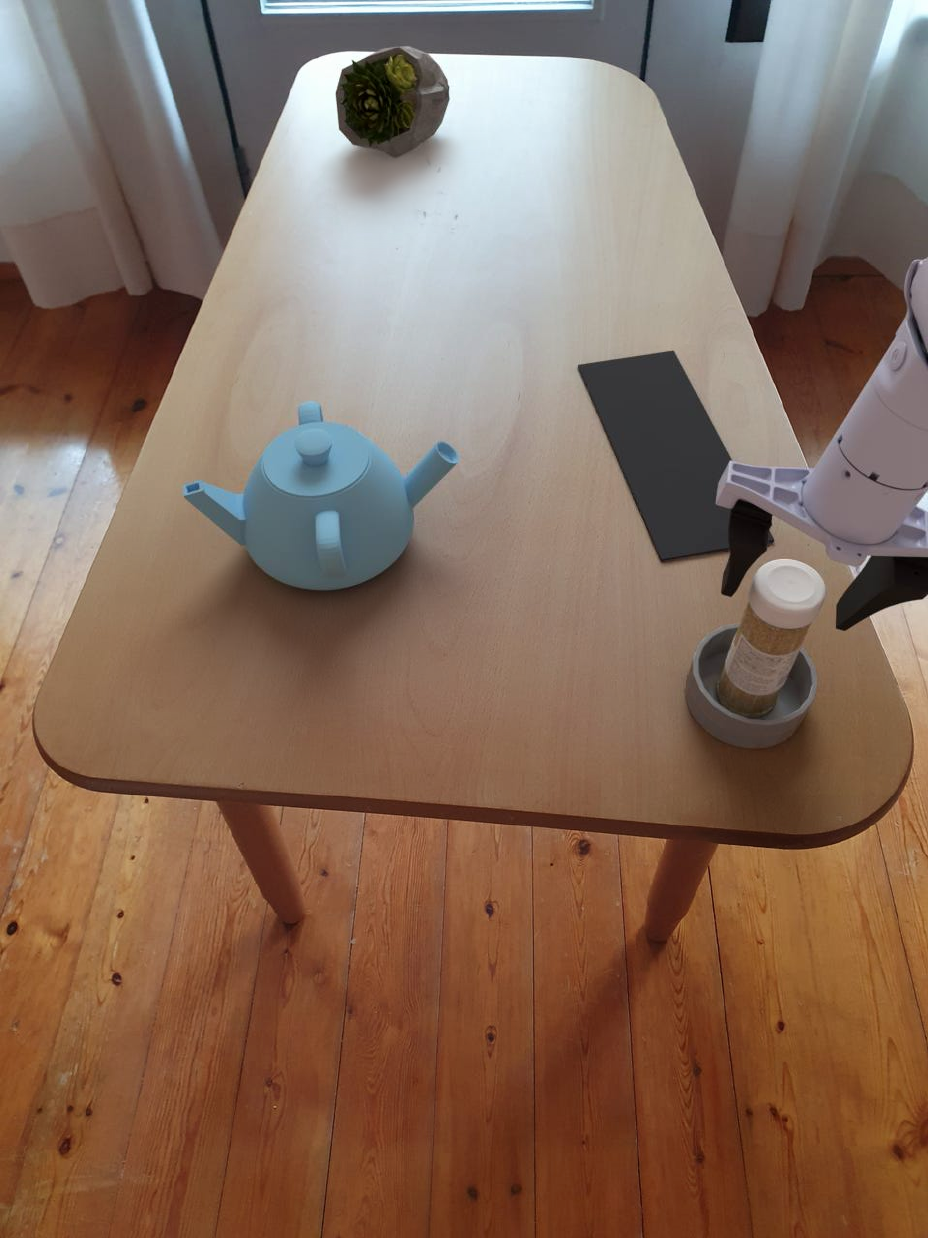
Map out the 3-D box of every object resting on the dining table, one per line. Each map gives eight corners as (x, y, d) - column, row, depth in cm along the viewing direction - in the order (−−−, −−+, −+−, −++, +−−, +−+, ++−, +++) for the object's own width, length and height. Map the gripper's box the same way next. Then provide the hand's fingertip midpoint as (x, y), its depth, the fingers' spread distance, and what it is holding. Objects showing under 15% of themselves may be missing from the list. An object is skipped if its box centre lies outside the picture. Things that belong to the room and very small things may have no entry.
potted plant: (473, 104, 120) (435, 126, 109) (400, 165, 127) (358, 191, 116) (416, 13, 116) (371, 26, 105) (345, 82, 123) (295, 100, 112)
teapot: (373, 641, 75) (357, 548, 66) (201, 563, 80) (165, 467, 71) (467, 515, 83) (464, 416, 74) (305, 451, 88) (283, 352, 79)
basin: (799, 654, 73) (811, 628, 70) (809, 754, 68) (823, 730, 65) (684, 644, 74) (692, 617, 71) (686, 742, 69) (694, 718, 66)
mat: (773, 542, 80) (774, 539, 80) (661, 561, 79) (661, 559, 79) (673, 352, 95) (673, 350, 95) (577, 366, 94) (577, 364, 94)
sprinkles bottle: (742, 659, 73) (786, 544, 62) (789, 698, 71) (843, 586, 60) (701, 692, 71) (739, 580, 60) (748, 732, 69) (796, 624, 58)
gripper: (752, 462, 49) (669, 615, 60) (1027, 543, 48) (892, 682, 59) (761, 379, 53) (682, 536, 64) (1014, 452, 52) (891, 598, 63)
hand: (783, 601), depth 62 cm, fingers open, 7 cm apart
